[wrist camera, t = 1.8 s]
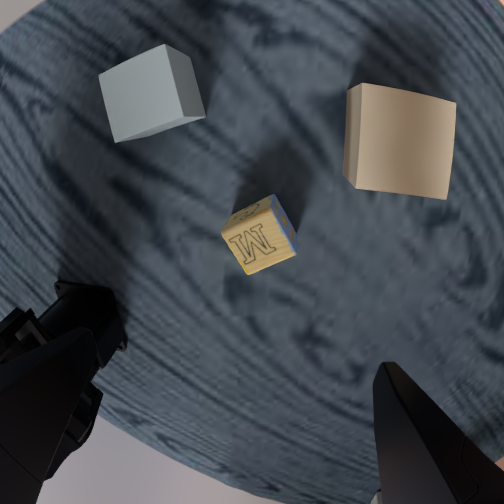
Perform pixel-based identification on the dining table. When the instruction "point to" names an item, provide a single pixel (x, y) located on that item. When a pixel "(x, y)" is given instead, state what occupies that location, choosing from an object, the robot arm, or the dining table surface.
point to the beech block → (398, 141)
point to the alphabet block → (260, 235)
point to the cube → (151, 94)
